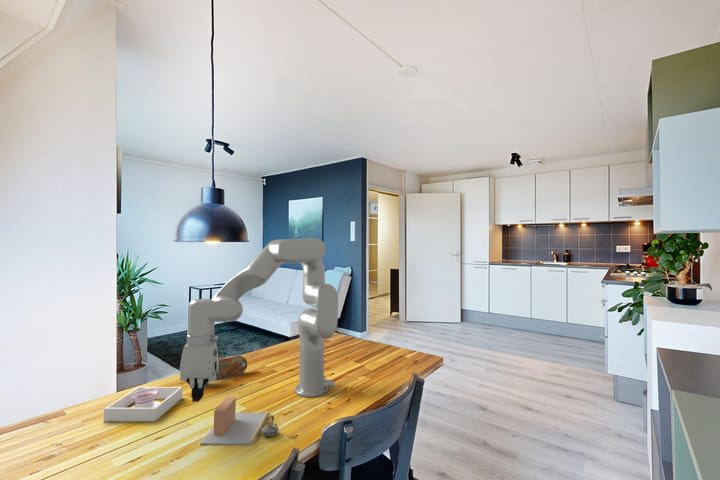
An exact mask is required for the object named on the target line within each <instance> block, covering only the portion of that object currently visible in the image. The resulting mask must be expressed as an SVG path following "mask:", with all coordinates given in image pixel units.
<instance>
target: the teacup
mask: <svg viewBox="0 0 720 480" xmlns="http://www.w3.org/2000/svg"><path fill="white" fill-rule="evenodd" d="M157 394H158V389H155V388H146V389H141V390H138V391H136V392H134V393H132V395H131V398H132V400H134V401H133V403H134V405H132V406H130V407H129V408H155V407H156V406H157V405H159V404H160V403H161V402H162V401H155V397H156V395H157Z"/></svg>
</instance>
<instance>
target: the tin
mask: <svg viewBox="0 0 720 480" xmlns="http://www.w3.org/2000/svg"><path fill="white" fill-rule="evenodd" d="M247 367H248V361H247V359H246V358H245V357H244V356H242V355H239V354H237V355H231V356H226V357H218V372H217V373H216V377H217V379H216V380H223V379H228V378H233V377H237V376H241V375H242V374H244V373H245V371H246V370H247Z"/></svg>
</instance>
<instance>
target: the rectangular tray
mask: <svg viewBox="0 0 720 480" xmlns="http://www.w3.org/2000/svg"><path fill="white" fill-rule="evenodd" d="M146 388H155V389H158V394H157V395H156V397H155V399H156V400H163V401H160V402H161V403H160V404H159V405H157V406H156V407H155V408H130V407H129V406H130V405H132V404H133V403H134V402H133V401H134V400H132V398H131V395H132V393H134V392H136V391H138V390H141V389H146ZM155 399H154V400H155ZM182 399H183V386H138V387H136V388H133V390H131V391H130V392H128V393H126V394H125V395H123V396H122V397H121V398H119V399H117V400H116V401H115V400H114V402H112V403H110V404H109V405H108V406H106V407H105V408H104V407H103V422H156V421H157V420H158V419H159V418H161V417H163V415H164V414H165V413H167V412H168V411H169V410H170V409H171V408H172V407H174V406H175V405H176V404H177V403H178V402H179V401H180V400H182Z"/></svg>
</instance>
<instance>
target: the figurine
mask: <svg viewBox="0 0 720 480" xmlns="http://www.w3.org/2000/svg"><path fill="white" fill-rule="evenodd" d="M274 421H275V423H274ZM260 431H261V435H262V436H263V437H264V439H268V437H269V438H271V437H274V436H277V435H278V433H279V431H280V429H279V425H278V424H277V421H276V418H275V416H274V415H272V416H271V419H268V421H267V424H266V425H264V426H262V428H261V430H260Z"/></svg>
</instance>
